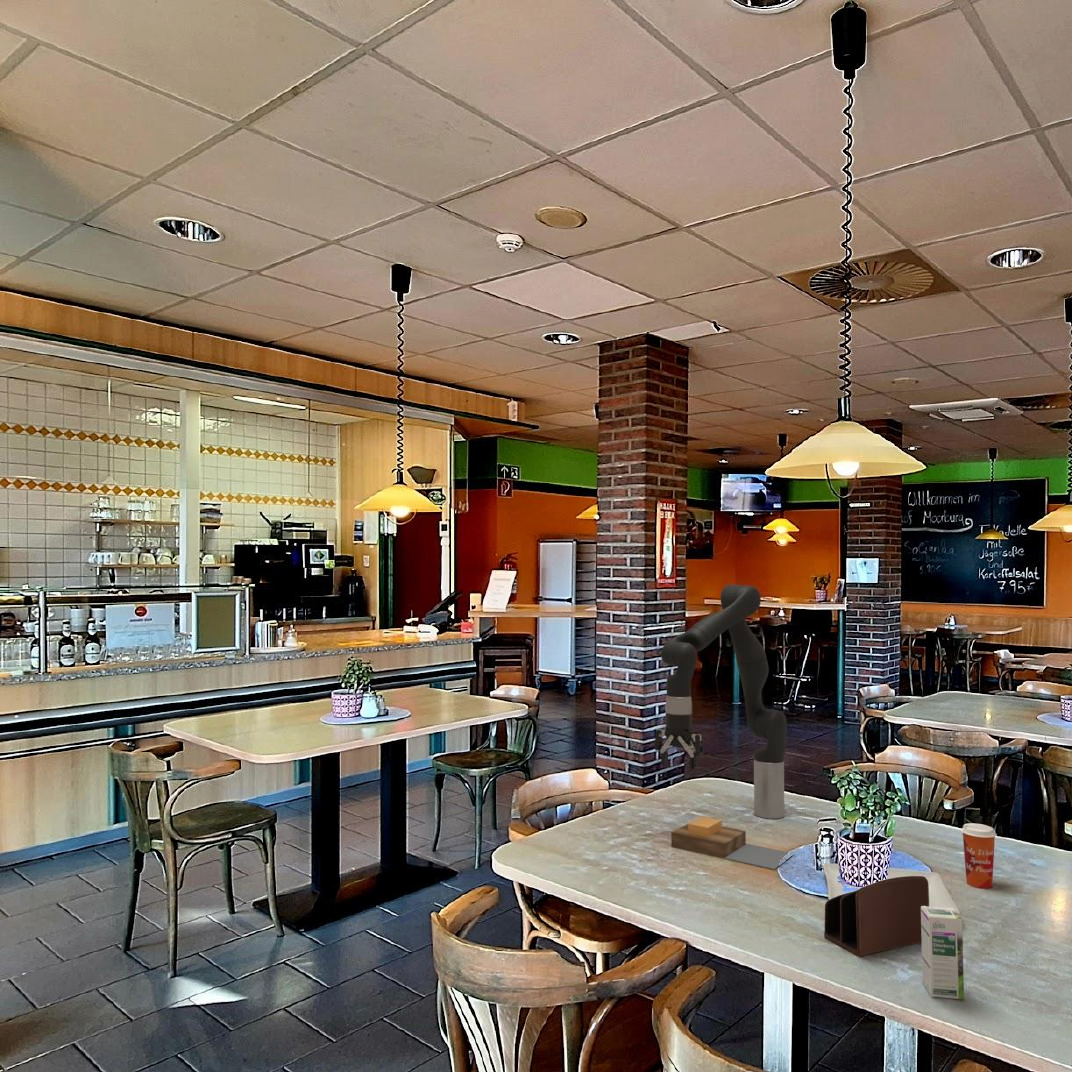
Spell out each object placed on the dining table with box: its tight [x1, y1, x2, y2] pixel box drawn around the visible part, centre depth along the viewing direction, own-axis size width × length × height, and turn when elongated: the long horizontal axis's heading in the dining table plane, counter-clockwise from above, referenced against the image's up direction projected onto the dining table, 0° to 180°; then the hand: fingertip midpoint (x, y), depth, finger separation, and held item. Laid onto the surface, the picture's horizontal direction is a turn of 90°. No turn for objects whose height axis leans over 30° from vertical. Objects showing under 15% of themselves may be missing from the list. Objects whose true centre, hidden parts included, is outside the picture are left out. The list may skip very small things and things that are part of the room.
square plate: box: [822, 863, 961, 916], centre depth 200 cm, size 27×27×4 cm
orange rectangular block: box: [687, 816, 723, 837], centre depth 238 cm, size 9×6×2 cm, turn 143°
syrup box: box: [921, 906, 965, 1001], centre depth 156 cm, size 6×6×14 cm
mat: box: [723, 843, 790, 871], centre depth 228 cm, size 15×14×1 cm
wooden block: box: [670, 820, 747, 859], centre depth 237 cm, size 14×16×4 cm
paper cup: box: [961, 822, 998, 890], centre depth 210 cm, size 8×8×14 cm
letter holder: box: [823, 876, 929, 958], centre depth 178 cm, size 10×20×14 cm, turn 114°
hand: (678, 768), depth 244 cm, fingers open, 8 cm apart
